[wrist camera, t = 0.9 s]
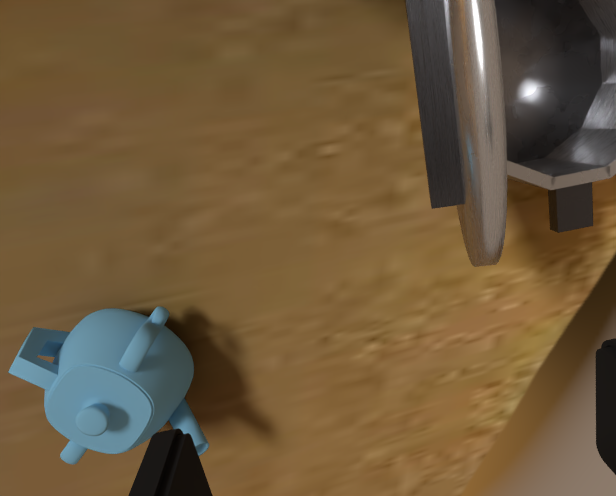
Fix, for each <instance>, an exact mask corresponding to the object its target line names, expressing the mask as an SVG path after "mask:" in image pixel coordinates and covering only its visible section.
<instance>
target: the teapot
mask: <svg viewBox="0 0 616 496" xmlns="http://www.w3.org/2000/svg"><path fill="white" fill-rule="evenodd" d="M168 317H169V312H168V310H167V309H166V308H164V307H156V309H155V310H154V311H153V313H152V314H151V316H150V317H148V316H145V315H143V314H140V313H136V312H133V311H129V310H124V309H115V308H112V309H103V310H99V311H96V312H93V313H91V314H89V315H88V316H86V317H85V318H84V319H83V320H82V321H81V322H80V323H79V324H78V325H77V326H76V327H75V328H74V329H73V330H72V331H71V332H65V331H58V330H50V329H43V328H36V327H33V329H32V330H31V332H30V333H29V335H28V336H27V338H26V339H25V341H24V343H23V345H22V347H21V348H20V350H19V352H18V354H17V356H16V358H15V360H14V362H13V364H12V366H11V368H10V370H9V372H8V373H10V374H13V375H15V376H17V377H19V378H22V379H24V380H26V381H28V382H30V383H33V384H35V385H37V386H39V387H42V388H44V389H45V402H44V406H45V413H46V416H47V419H48V421H49V422H50V424H51V425H52V426H53V427H54V428H55V429H56V430H57V431H58V432H60V433H61V434H62V435H64V436H65V437H66V438H68V439H69V440H70V441H69V443H68V444H67V445H66V447H65V448H64V450H63V451H62V453H61V455H60V457H61V459H62V460H63V461H65V462H66V463H69V464H76V463H77V462H78V461H79V460H80V458H81V457H82V456H83V454H84V453H85V452H86V450H87V449H91V450H94V451H98V452H102V453H108V454H118V453H123V452H126V451H128V450H131V449H133V448H135V447H136V446H138V445H140V444H141V443H143V442H145V441H146V440H148V439H149V438H151V437H152V436H153V434H155V433H156V432H157V431H159V430H160V429H161V428H162V427H163V426H164V425H165V424H166V422H167V421H168V420H169V422H170V424H171V425H172V427H173V429H178V428H179V429H181V430H182V431H183V434H186V433H189V434H190V435H191V437H192V439H193V442H194V445H195V448H196V450H197V453H198V456H200V455H201V454H203V453H204V452H205V451H206V450H207V449H208V447H209V443H208V441H207V439H206V438H205V436H204V434H203V432H202V430H201V428H200V426H199V424H198V422H197V420H196V419H195V417H194V415H193V413H192V411H191V409H190V407H189V405H188V403H187V402H186V400H185V395H186V393H187V391H188V389H189V387H190V384H191V382H192V379H193V375H194V363H193V359H192V356H191V354H190V352H189V350H188V348H187V347H186V345H185V344H184V343H183V342H182V341H181V340H180V338H179V337H178V336H177V335H175V334H174V333H173V332H172V331H171V330H170V329H168V328H167V327H166V326H164V325H165V323H166V321H167V319H168ZM38 355H42V356H50V357H55V359H54V360H53V363H50V362H48V361H45V360H42V359H40V358H37V356H38Z"/></svg>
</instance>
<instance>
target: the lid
mask: <svg viewBox="0 0 616 496" xmlns="http://www.w3.org/2000/svg"><path fill="white" fill-rule="evenodd" d="M405 1H406V9H407V17H408V25H409V33H410V41H411V49H412V57H413V65H414V73H415V81H416V89H417V97H418V105H419V113H420V121H421V129H422V137H423V145H424V153H425V161H426V169H427V177H428V185H429V193H430V201H431V207H432V209H433V208H440V207H447V206H454V205H457V210H458V215H459V220H460V225H461V230H462V234H463V239H464V243H465V247H466V250H467V253H468V257H469V259H470V262H471V264H472V265H473V266H474V267H478V266H487V265H496V264H497V263H498V262H499V259H500V257H501V254H502V249H503V245H504V237H505V228H506V212H507V145H506V120H505V105H504V89H503V77H502V65H501V54H500V43H499V34H498V25H497V16H496V8H495V1H494V0H405Z"/></svg>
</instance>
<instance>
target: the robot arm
mask: <svg viewBox="0 0 616 496" xmlns="http://www.w3.org/2000/svg"><path fill="white" fill-rule="evenodd" d="M596 445H597V449H598V451H599V454H600V456H601V458H602V459H603V461H604V462H605V463H606V464H607V466H608V467H609V468H610V469H611V470H612V471H613V472H614V473H615V475H616V339H611V340H606V341H604V342H603V344H602V347H601V349H598V350H597V352H596ZM129 496H212V493H211V490H210V487H209V484H208V482H207V479H206V476H205V473H204V470H203V467H202V465H201V462H200V459H199V456H198V453H197V450H196V448H195V445H194V442H193V439H192V437H191V435H190V434H189V433H186V434H183V431H182V430H181V429H179V428H178V429H173V430H168V431H163V432H158V433H155V434H153V436H152V438H151V440H150V443H149V445H148V448H147V450H146V453H145V455H144V458H143V460H142V463H141V466H140V468H139V471H138V473H137V476H136V478H135V481H134V483H133V486H132V488H131V491H130V493H129Z"/></svg>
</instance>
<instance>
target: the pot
mask: <svg viewBox="0 0 616 496" xmlns="http://www.w3.org/2000/svg"><path fill="white" fill-rule="evenodd" d="M494 1H495V8H496V16H497V25H498V34H499V43H500V54H501V65H502V77H503V89H504V105H505V120H506V145H507V179H510V180H514V181H518V182H521V183H525V184H529V185H533V186H537V187H541V188H545V189H548V196H549V215H550V230H553V231H555V232H558V233H559V232H564V231H569V230H574V229H579V228H584V227H589V226H593V201H592V182H594V181H599V180H604V179H609V178H611V177H613V176H614V175H615V174H616V0H494Z"/></svg>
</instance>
